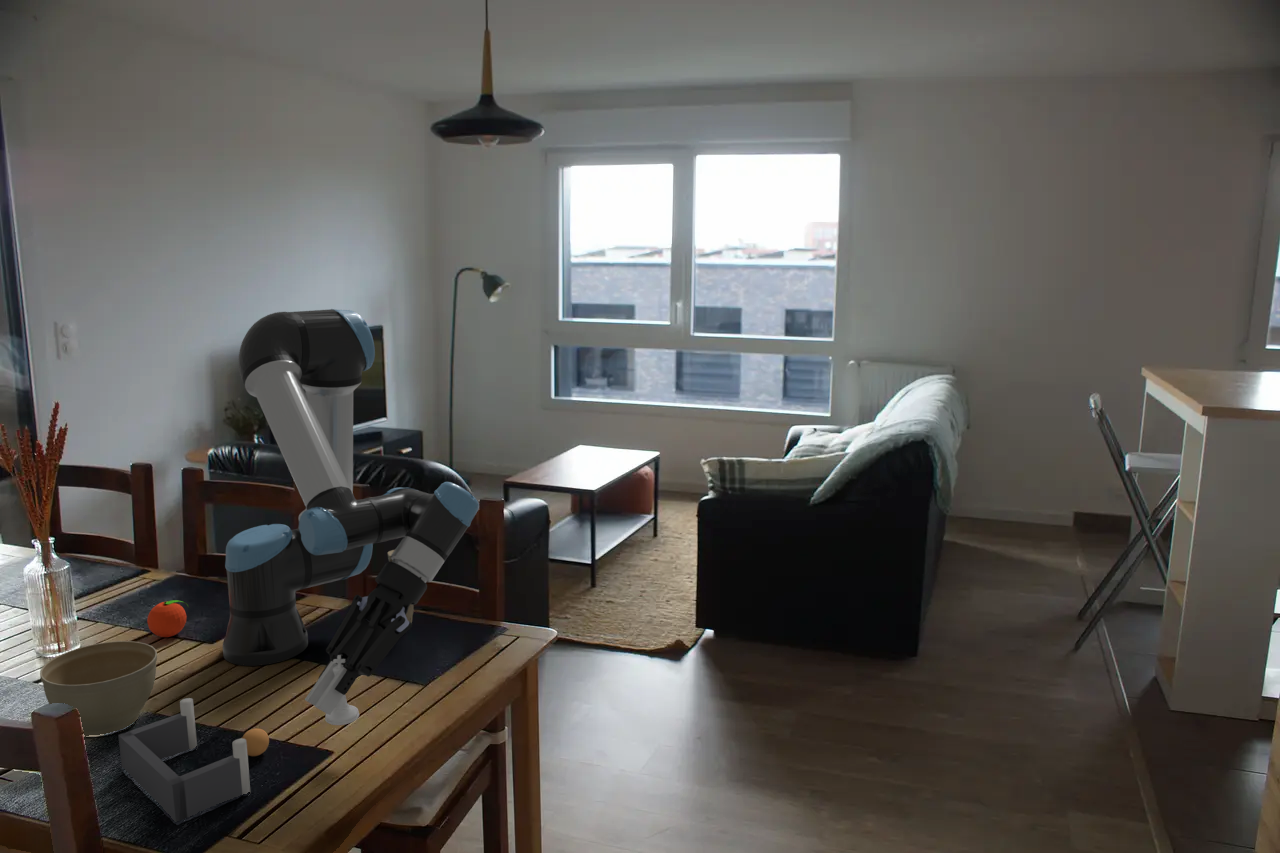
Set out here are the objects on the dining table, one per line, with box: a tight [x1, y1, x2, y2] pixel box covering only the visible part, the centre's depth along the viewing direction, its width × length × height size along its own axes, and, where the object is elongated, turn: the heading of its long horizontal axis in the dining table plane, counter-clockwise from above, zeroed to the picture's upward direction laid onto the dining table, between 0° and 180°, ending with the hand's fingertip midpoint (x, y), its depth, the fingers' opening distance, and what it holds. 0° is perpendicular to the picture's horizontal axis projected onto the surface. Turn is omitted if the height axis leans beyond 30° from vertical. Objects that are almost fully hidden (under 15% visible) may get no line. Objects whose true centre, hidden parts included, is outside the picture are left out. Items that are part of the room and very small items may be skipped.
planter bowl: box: [39, 640, 158, 738], centre depth 148 cm, size 16×16×11 cm
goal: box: [118, 697, 251, 822], centre depth 133 cm, size 10×19×8 cm, turn 48°
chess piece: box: [324, 655, 360, 726], centre depth 139 cm, size 5×5×10 cm
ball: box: [241, 727, 270, 757], centre depth 140 cm, size 4×4×4 cm
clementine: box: [146, 599, 189, 638], centre depth 183 cm, size 8×7×7 cm
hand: (317, 707), depth 137 cm, fingers closed on chess piece, 2 cm apart
